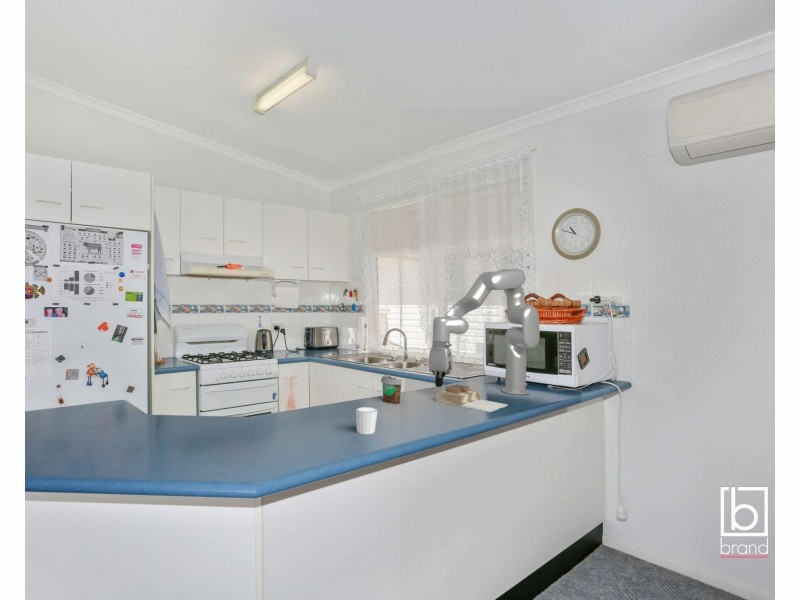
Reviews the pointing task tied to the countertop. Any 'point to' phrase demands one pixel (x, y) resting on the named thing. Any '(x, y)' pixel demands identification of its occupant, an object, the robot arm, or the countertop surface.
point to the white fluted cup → (366, 420)
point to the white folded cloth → (484, 405)
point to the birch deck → (457, 397)
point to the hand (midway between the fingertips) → (438, 386)
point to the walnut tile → (457, 389)
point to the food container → (391, 389)
